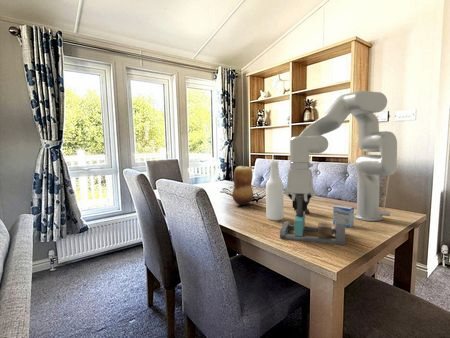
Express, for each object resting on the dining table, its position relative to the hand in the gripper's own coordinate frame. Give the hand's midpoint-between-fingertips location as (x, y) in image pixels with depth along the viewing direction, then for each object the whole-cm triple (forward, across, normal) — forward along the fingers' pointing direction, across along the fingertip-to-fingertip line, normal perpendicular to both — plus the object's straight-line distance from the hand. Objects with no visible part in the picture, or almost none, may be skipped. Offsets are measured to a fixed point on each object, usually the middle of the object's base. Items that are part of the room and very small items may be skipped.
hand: (299, 209), depth 104 cm
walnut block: (+11, -10, 0) cm, 15 cm away
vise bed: (+11, -5, 0) cm, 12 cm away
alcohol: (+11, +14, -20) cm, 27 cm away
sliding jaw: (+9, 0, 0) cm, 9 cm away
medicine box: (+11, -18, -18) cm, 28 cm away
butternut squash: (+11, +39, -44) cm, 60 cm away
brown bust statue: (+11, +1, -33) cm, 35 cm away
